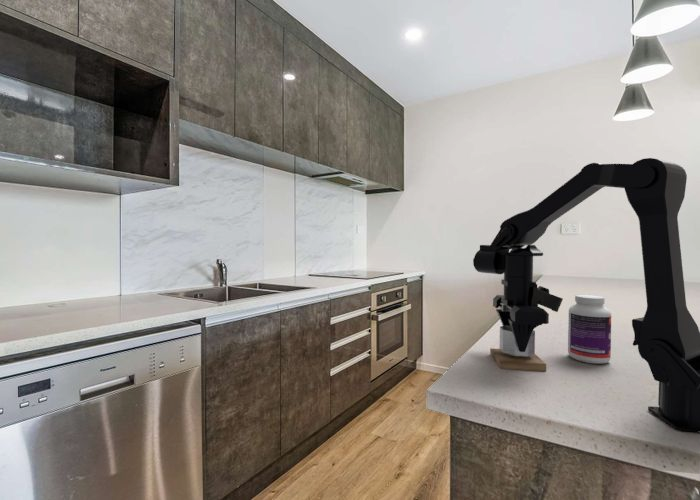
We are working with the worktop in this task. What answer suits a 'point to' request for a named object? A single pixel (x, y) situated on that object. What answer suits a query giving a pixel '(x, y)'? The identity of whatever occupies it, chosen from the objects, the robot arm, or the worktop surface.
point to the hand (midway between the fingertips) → (517, 346)
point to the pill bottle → (589, 330)
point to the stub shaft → (517, 361)
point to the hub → (514, 343)
